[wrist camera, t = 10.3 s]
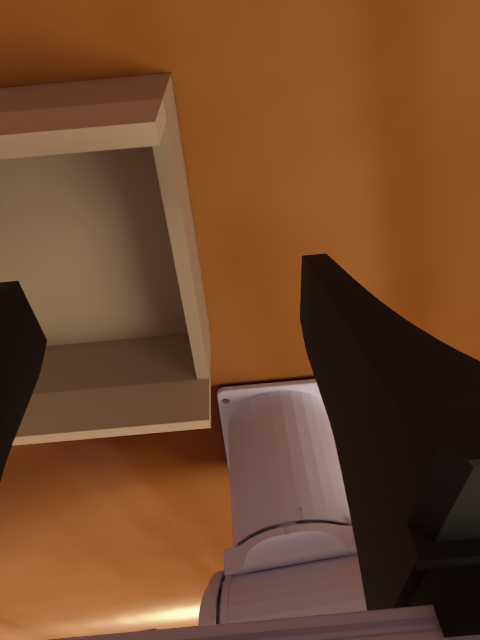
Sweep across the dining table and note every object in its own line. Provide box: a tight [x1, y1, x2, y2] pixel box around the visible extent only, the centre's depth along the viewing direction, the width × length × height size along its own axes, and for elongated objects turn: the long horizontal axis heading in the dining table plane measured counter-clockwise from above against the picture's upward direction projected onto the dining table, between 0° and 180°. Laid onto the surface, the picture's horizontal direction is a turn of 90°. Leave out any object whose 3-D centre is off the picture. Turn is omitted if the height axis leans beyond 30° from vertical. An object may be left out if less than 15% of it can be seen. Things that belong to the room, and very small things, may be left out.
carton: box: [0, 73, 211, 446], centre depth 18 cm, size 13×12×6 cm
